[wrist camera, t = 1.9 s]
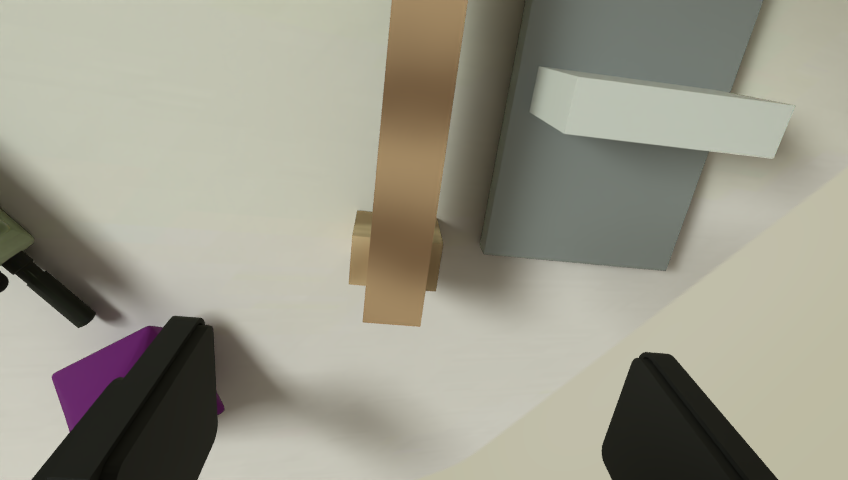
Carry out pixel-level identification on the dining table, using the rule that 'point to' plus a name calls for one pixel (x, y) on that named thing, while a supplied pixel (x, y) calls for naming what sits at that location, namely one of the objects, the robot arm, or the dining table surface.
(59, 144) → the dining table surface
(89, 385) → the purple potion bottle
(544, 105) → the stand
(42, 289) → the handheld radio
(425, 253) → the walnut bar
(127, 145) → the dining table surface
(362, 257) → the bar rest
